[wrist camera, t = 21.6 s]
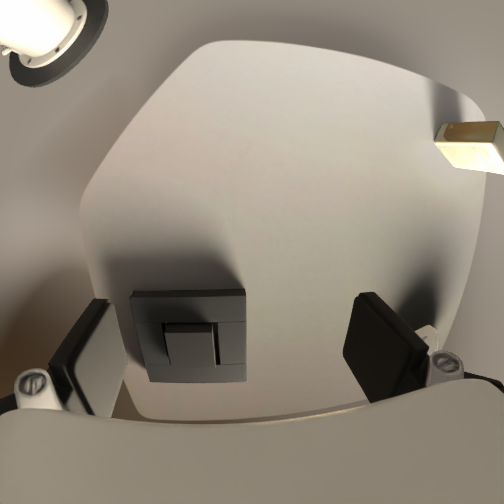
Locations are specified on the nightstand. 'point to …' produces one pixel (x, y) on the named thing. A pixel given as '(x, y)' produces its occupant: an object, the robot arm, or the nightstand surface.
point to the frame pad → (192, 311)
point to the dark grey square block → (191, 345)
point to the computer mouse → (429, 337)
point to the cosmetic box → (473, 145)
